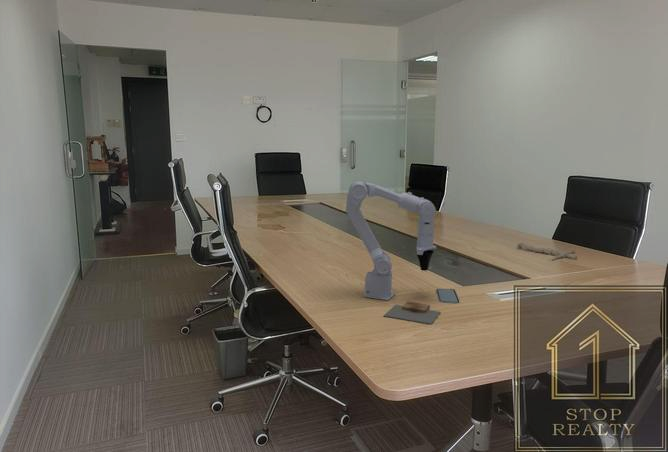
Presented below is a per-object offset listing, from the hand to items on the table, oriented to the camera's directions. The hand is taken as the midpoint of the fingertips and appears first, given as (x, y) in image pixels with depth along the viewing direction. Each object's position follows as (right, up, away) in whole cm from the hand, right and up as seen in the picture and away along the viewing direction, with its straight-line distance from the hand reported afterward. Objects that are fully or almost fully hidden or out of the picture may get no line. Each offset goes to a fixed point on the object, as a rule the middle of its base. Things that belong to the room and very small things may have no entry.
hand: (424, 270), depth 183 cm
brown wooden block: (-4, -11, -10) cm, 16 cm away
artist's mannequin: (+75, +1, +72) cm, 104 cm away
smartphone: (+9, -11, +3) cm, 14 cm away
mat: (-7, -14, -16) cm, 22 cm away
